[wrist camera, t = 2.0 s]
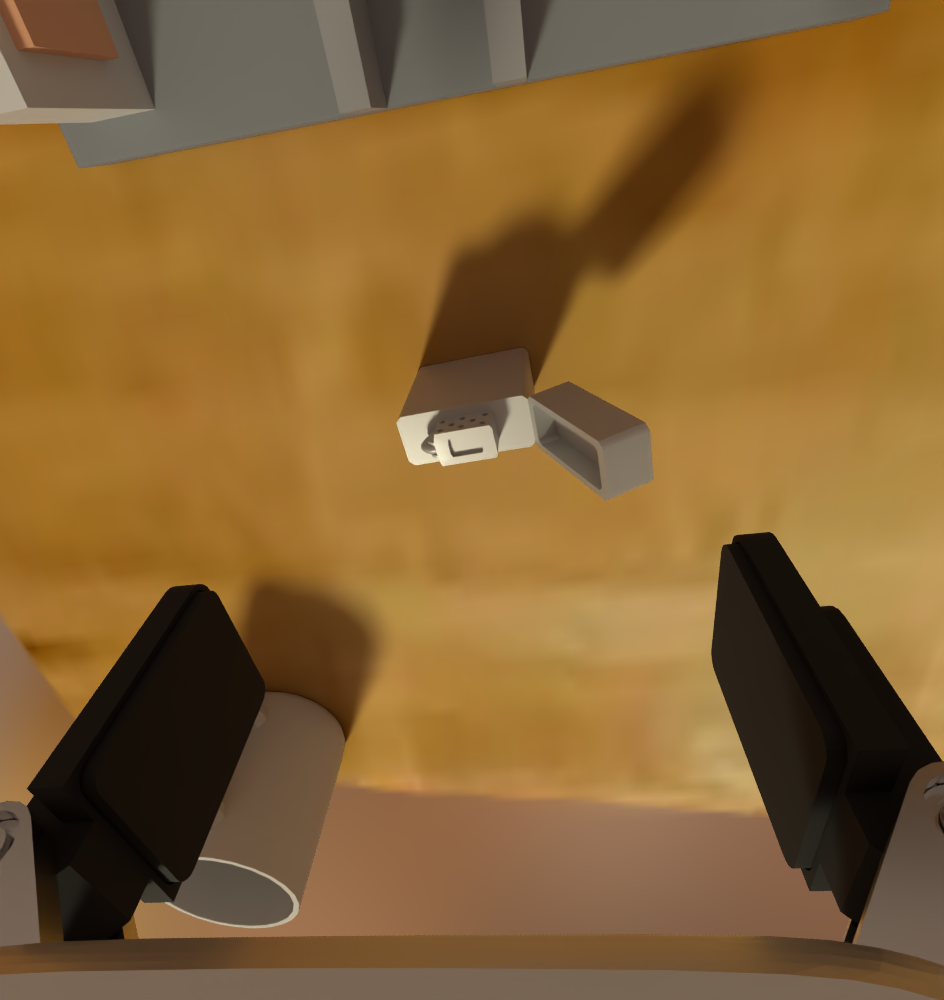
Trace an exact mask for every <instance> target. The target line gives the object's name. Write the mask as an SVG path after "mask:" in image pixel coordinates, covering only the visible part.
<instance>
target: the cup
mask: <svg viewBox="0 0 944 1000" xmlns="http://www.w3.org/2000/svg"><path fill="white" fill-rule="evenodd" d="M344 746H345V738H344V734H343V731H342V728H341V725H340V724H339V722H338V721H337V720H336V718H335V717H334V716H333V715H332V714H331V713H330V712H329V711H328V710H327V709H325V708H324V707H322V706H321V705H319V704H317V703H315V702H314V701H312V700H309V699H307V698H304V697H301V696H299V695H294V694H289V693H284V692H265V697H264V700H263V703H262V705H261V708H260V710H259V713H258V715H257V718H256V720H255V722H254V725H253V727H252V730H251V732H250V735H249V737H248V739H247V742H246V744H245V747H244V749H243V752H242V754H241V757H240V759H239V761H238V764H237V766H236V769H235V771H234V774H233V776H232V778H231V781H230V783H229V786H228V788H227V791H226V793H225V795H224V798H223V800H222V803H221V805H220V808H219V810H218V812H217V815H216V817H215V820H214V822H213V825H212V827H211V830H210V832H209V834H208V837H207V839H206V842H205V844H204V847H203V849H202V851H201V854H200V856H199V859H198V861H197V864H196V866H195V868H194V870H193V872H192V874H191V876H190V877H189V878H188V879H187V880H186V881H184V882H182V884H181V886H180V888H179V891H178V893H177V896H176V898H175V900H174V902H165V903H166V904H168V905H170V906H172V907H174V908H175V909H177V910H179V911H181V912H183V913H186V914H188V915H191V916H194V917H196V918H199V919H202V920H206V921H209V922H212V923H216V924H222V925H227V926H233V927H245V928H264V927H272V926H277V925H281V924H284V923H286V922H288V921H290V920H292V919H293V918H294V917H295V916H296V915H297V913H298V912H299V908H300V905H301V901H302V898H303V894H304V890H305V887H306V884H307V880H308V877H309V873H310V870H311V866H312V863H313V859H314V856H315V852H316V848H317V845H318V842H319V838H320V835H321V831H322V828H323V824H324V821H325V817H326V814H327V810H328V807H329V803H330V800H331V796H332V792H333V789H334V786H335V782H336V779H337V775H338V772H339V768H340V765H341V761H342V756H343V752H344Z"/></svg>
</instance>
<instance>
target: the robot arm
mask: <svg viewBox="0 0 944 1000" xmlns="http://www.w3.org/2000/svg"><path fill="white" fill-rule="evenodd" d="M711 654H712V663H713V667H714V671H715V674H716V676H717V679H718V682H719V684H720V687H721V690H722V692H723V695H724V698H725V700H726V703H727V706H728V708H729V711H730V714H731V716H732V719H733V722H734V724H735V727H736V730H737V732H738V735H739V738H740V741H741V743H742V746H743V749H744V751H745V754H746V757H747V759H748V762H749V765H750V767H751V770H752V773H753V775H754V778H755V781H756V783H757V786H758V789H759V791H760V794H761V797H762V799H763V802H764V805H765V807H766V810H767V813H768V815H769V818H770V821H771V823H772V826H773V829H774V831H775V834H776V837H777V839H778V842H779V845H780V847H781V850H782V853H783V855H784V857H785V860H786V862H787V863H788V865H789V866H790V867H791V868H801V870H802V873H803V875H804V878H805V880H806V883H807V885H808V888H809V890H810V891H832V893H833V895H834V897H835V899H836V902H837V904H838V907H839V909H840V911H841V912H842V913H843V914H845V915H846V916H847V917H849V918H850V920H849V923H848V926H847V929H846V932H845V934H844V937H843V940H842V942H838V941H832V940H819V939H803V938H787V937H772V936H729V935H728V936H726V935H661V934H655V935H654V934H627V935H626V934H616V935H615V934H614V935H613V934H612V935H611V934H610V935H609V934H607V935H605V934H602V935H427V936H426V935H422V936H421V935H415V936H315V937H314V936H311V937H309V936H308V937H238V938H237V937H236V938H235V937H231V938H165V939H164V938H163V939H138V934H137V929H136V925H135V920H134V915H133V914H134V911H135V909H136V907H137V905H138V903H139V901H140V899H141V900H142V901H143V902H144V903H148V902H149V903H152V902H153V903H154V902H174V900H175V898H176V896H177V893H178V891H179V888H180V886H181V884H182V882H184V881H186V880H187V879H188V878H189V877H190V876H191V874H192V872H193V870H194V868H195V866H196V864H197V861H198V859H199V856H200V854H201V851H202V849H203V847H204V844H205V842H206V839H207V837H208V834H209V832H210V830H211V827H212V825H213V822H214V820H215V817H216V815H217V812H218V810H219V808H220V805H221V803H222V800H223V798H224V795H225V793H226V791H227V788H228V786H229V783H230V781H231V778H232V776H233V774H234V771H235V769H236V766H237V764H238V761H239V759H240V757H241V754H242V752H243V749H244V747H245V744H246V742H247V739H248V737H249V735H250V732H251V730H252V727H253V725H254V722H255V720H256V718H257V715H258V713H259V710H260V708H261V705H262V703H263V700H264V697H265V684H264V681H263V679H262V677H261V675H260V673H259V671H258V670H257V668H256V666H255V664H254V662H253V660H252V658H251V656H250V655H249V653H248V651H247V649H246V647H245V645H244V643H243V641H242V640H241V638H240V636H239V634H238V632H237V630H236V628H235V626H234V625H233V623H232V621H231V619H230V617H229V615H228V613H227V611H226V610H225V608H224V606H223V604H222V602H221V600H220V598H219V596H218V595H217V594H216V593H215V592H214V591H210V590H209V589H208V587H207V586H205V585H203V584H196V585H185V586H175V587H172V588H169V590H168V591H167V592H166V593H165V594H164V596H163V597H162V598H161V600H160V601H159V603H158V604H157V605H156V607H155V608H154V610H153V611H152V612H151V614H150V615H149V617H148V618H147V620H146V621H145V622H144V624H143V625H142V627H141V628H140V629H139V631H138V632H137V634H136V635H135V637H134V638H133V639H132V641H131V642H130V644H129V645H128V646H127V648H126V649H125V651H124V652H123V653H122V655H121V656H120V658H119V659H118V661H117V662H116V663H115V665H114V666H113V668H112V669H111V670H110V672H109V673H108V675H107V676H106V678H105V679H104V680H103V682H102V683H101V685H100V686H99V687H98V689H97V690H96V692H95V693H94V694H93V696H92V697H91V699H90V700H89V702H88V703H87V704H86V706H85V707H84V709H83V710H82V711H81V713H80V714H79V716H78V717H77V719H76V720H75V721H74V723H73V724H72V726H71V727H70V728H69V730H68V731H67V733H66V734H65V736H64V737H63V738H62V740H61V741H60V743H59V744H58V745H57V747H56V748H55V750H54V751H53V752H52V754H51V755H50V757H49V758H48V760H47V761H46V762H45V764H44V765H43V767H42V768H41V769H40V771H39V772H38V774H37V775H36V777H35V778H34V780H33V781H32V782H31V784H30V785H29V786H28V788H27V789H28V790H29V791H30V792H31V793H32V794H33V795H34V796H33V798H32V799H31V801H30V802H29V804H28V805H27V806H25V805H24V804H22V803H21V802H16V801H5V802H2V803H0V1000H944V761H942V760H941V758H940V757H939V755H938V754H937V753H936V751H935V750H934V748H933V747H932V745H931V744H930V742H929V741H928V739H927V738H926V736H925V735H924V733H923V732H922V730H921V729H920V727H919V726H918V724H917V723H916V721H915V720H914V718H913V717H912V715H911V714H910V712H909V711H908V709H907V708H906V706H905V705H904V704H903V702H902V701H901V699H900V698H899V696H898V695H897V693H896V692H895V690H894V689H893V687H892V686H891V684H890V683H889V681H888V680H887V678H886V677H885V675H884V674H883V672H882V671H881V669H880V668H879V666H878V665H877V663H876V662H875V660H874V659H873V657H872V656H871V655H870V653H869V652H868V650H867V649H866V647H865V646H864V644H863V643H862V641H861V640H860V638H859V637H858V635H857V634H856V632H855V631H854V629H853V628H852V626H851V625H850V623H849V622H848V620H847V619H846V617H845V616H844V615H843V614H842V613H841V611H840V610H839V609H837V608H835V607H834V606H822V607H820V606H819V604H818V603H817V601H816V599H815V598H814V596H813V595H812V593H811V592H810V590H809V588H808V587H807V585H806V584H805V582H804V581H803V579H802V577H801V576H800V574H799V573H798V571H797V570H796V568H795V566H794V565H793V563H792V562H791V560H790V559H789V557H788V555H787V554H786V552H785V551H784V549H783V548H782V546H781V544H780V543H779V541H778V540H777V538H776V537H775V536H774V534H773V533H770V532H765V533H754V534H743V535H736V536H734V538H733V541H732V544H727V545H723V547H722V551H721V560H720V570H719V580H718V590H717V600H716V610H715V620H714V630H713V640H712V651H711Z"/></svg>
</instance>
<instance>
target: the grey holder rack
mask: <svg viewBox="0 0 944 1000" xmlns="http://www.w3.org/2000/svg"><path fill="white" fill-rule="evenodd" d="M890 1H891V0H0V124H42V123H58V124H59V126H60V128H61V130H62V133H63V135H64V137H65V139H66V141H67V144H68V146H69V148H70V150H71V152H72V155H73V157H74V159H75V161H76V163H77V165H78V168H86V167H94V166H102V165H110V164H115V163H120V162H125V161H131V160H136V159H141V158H146V157H151V156H156V155H161V154H167V153H172V152H177V151H182V150H187V149H192V148H197V147H203V146H208V145H213V144H218V143H223V142H228V141H233V140H239V139H244V138H249V137H254V136H259V135H264V134H269V133H275V132H280V131H285V130H290V129H295V128H300V127H305V126H310V125H316V124H321V123H326V122H331V121H336V120H341V119H346V118H352V117H357V116H362V115H367V114H372V113H377V112H382V111H388V110H393V109H398V108H403V107H408V106H413V105H418V104H424V103H429V102H434V101H439V100H444V99H449V98H454V97H460V96H465V95H470V94H475V93H480V92H485V91H490V90H496V89H501V88H506V87H511V86H516V85H521V84H526V83H532V82H537V81H542V80H547V79H552V78H557V77H562V76H568V75H573V74H578V73H583V72H588V71H593V70H598V69H604V68H609V67H614V66H619V65H624V64H629V63H634V62H640V61H645V60H650V59H655V58H660V57H665V56H670V55H676V54H681V53H686V52H691V51H696V50H701V49H706V48H712V47H717V46H722V45H727V44H732V43H737V42H742V41H748V40H753V39H758V38H763V37H768V36H773V35H778V34H783V33H789V32H794V31H799V30H804V29H809V28H814V27H819V26H825V25H830V24H835V23H840V22H845V21H850V20H855V19H860V18H864V17H867V16H871V15H874V14H878V13H881V12H885V11H888V10H889V6H890Z"/></svg>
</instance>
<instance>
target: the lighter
mask: <svg viewBox="0 0 944 1000" xmlns="http://www.w3.org/2000/svg"><path fill="white" fill-rule="evenodd" d="M397 426H398V429H399V432H400V435H401V438H402V441H403V445H404V448H405V451H406V454H407V457H408V460H409V462H411V463H413V464H414V465H420V464H426V463H432V462H438V461H440V462H441V464H442V465H443V466H447V465H453V464H459V463H465V462H471V461H478V460H484V459H490V458H496V457H497V455H498V452H500V451H506V450H512V449H518V448H524V447H530V446H532V445H533V444H534V442H535V441H536V443H537V445H538V447H539V448H540V449H541V450H542V451H544V452H545V453H546V454H547V455H549V456H550V457H551V458H553V459H554V460H555V461H556V462H558V463H559V464H560V465H561V466H563V467H564V468H565V469H566V470H568V471H569V472H570V473H571V474H573V475H574V476H575V477H576V478H578V479H579V480H580V481H581V482H583V483H584V484H585V485H586V486H588V487H589V488H590V489H591V490H593V491H594V492H595V493H596V494H598V495H599V496H600V497H601V498H603V499H604V500H605V501H607V500H609V499H611V498H614V497H616V496H618V495H621V494H623V493H625V492H628V491H630V490H632V489H635V488H637V487H639V486H642V485H644V484H646V483H648V482H650V481H652V480H653V468H652V453H651V438H650V430H649V428H648V427H647V425H646V423H645V422H643V421H642V420H640V419H638V418H636V417H634V416H632V415H630V414H629V413H627V412H625V411H623V410H621V409H619V408H617V407H615V406H614V405H612V404H610V403H608V402H606V401H604V400H602V399H601V398H599V397H597V396H595V395H593V394H591V393H589V392H588V391H586V390H584V389H582V388H580V387H578V386H576V385H574V384H573V383H571V382H569V381H568V382H566V383H563V384H560V385H558V386H555V387H552V388H550V389H547V390H544V391H542V392H539V393H536V394H534V383H533V377H532V371H531V366H530V360H529V355H528V351H527V350H526V349H524V348H523V347H521V348H516V349H511V350H506V351H501V352H495V353H490V354H485V355H480V356H475V357H470V358H465V359H460V360H454V361H449V362H444V363H439V364H434V365H429V366H424V367H421V368H420V369H419V371H418V373H417V375H416V378H415V380H414V382H413V385H412V387H411V390H410V392H409V394H408V397H407V399H406V402H405V404H404V406H403V409H402V411H401V414H400V416H399V418H398V421H397Z"/></svg>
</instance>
